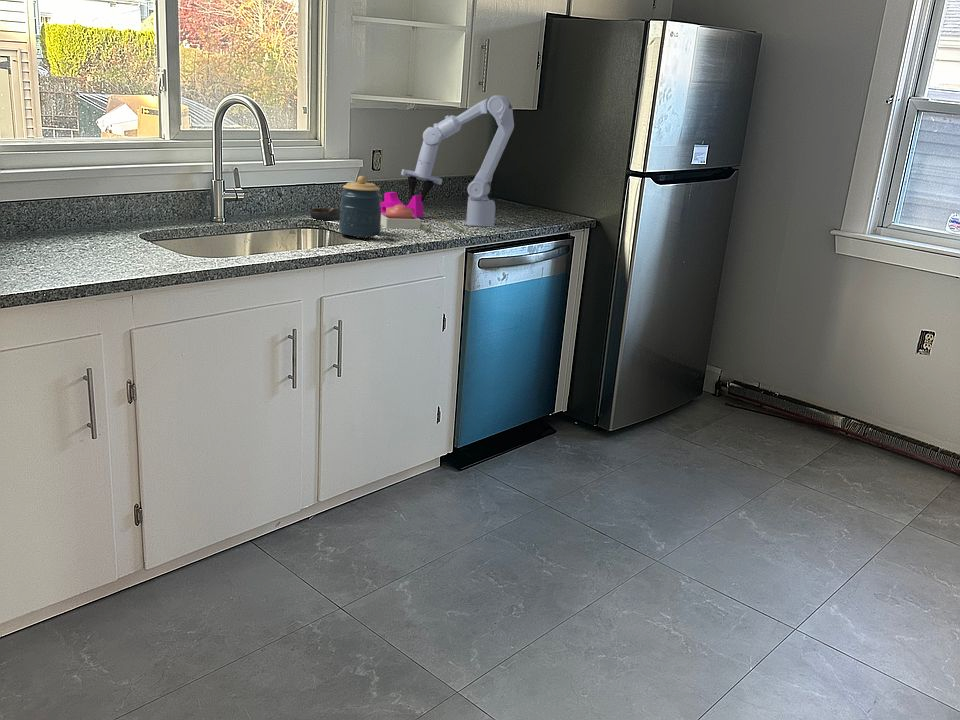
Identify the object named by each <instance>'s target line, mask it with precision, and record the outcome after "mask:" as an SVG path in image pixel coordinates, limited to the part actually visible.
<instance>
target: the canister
mask: <svg viewBox="0 0 960 720" xmlns="http://www.w3.org/2000/svg"><path fill="white" fill-rule="evenodd" d="M342 188H343V191H342V192H340V193H339V196H340V197H341V198H340V199H341V201H340V204H339V210H340V218H339V221H338V222H339V224H338V231H339V233H340V234H342V235H345V236H352V237H353V236H354V237H376V236H380V235H381V230H382V229H381V228H382V225H381V209H382V207H381V205H380V202H381V200H382V199H383V195H381V194H380V192H379V191H380V190H381V188H380V187H379V186H377V184H375V183H371V182H367V178H366V177H365V176H364V175H359V176H358V177H357V181H350V182H349V181H348V182H346V184H344V185H343V186H342Z"/></svg>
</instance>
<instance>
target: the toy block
mask: <svg viewBox="0 0 960 720" xmlns="http://www.w3.org/2000/svg"><path fill="white" fill-rule="evenodd" d="M422 196H423V195H421V194H419V193H418V194H413V196H412V199H409V202H408V204H407V205H405V204H403V203H402V202H401V200H400V198H399V196H398V192H397V191H388V192H384V195H383V197H384V201H380V205H381V207H382V209H381V214H386V208H388V207H394V206H395V205H399V204H400V205H404V206H405V207H406V208H409V209H413V216H415V217H417V218H422V217H424V201H423V202H422V201H421V200H422Z"/></svg>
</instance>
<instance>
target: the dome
mask: <svg viewBox="0 0 960 720" xmlns="http://www.w3.org/2000/svg"><path fill="white" fill-rule="evenodd" d="M404 205H405V204H404ZM404 205H400V204H399V205H395V206H394V207H388V208H386V217H387V218H390V219H413V209H409V208H406V207H405V206H406V205H405V206H404Z"/></svg>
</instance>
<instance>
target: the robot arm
mask: <svg viewBox="0 0 960 720" xmlns="http://www.w3.org/2000/svg"><path fill="white" fill-rule="evenodd" d="M513 110H514V108H513V105H512V103H511V101H510V100H509V98H508V97H506V96H504V95H500V94H499V95H497V94H496V95H495V94H494V95H492V96H491V97H490V98H486V99H484V100H481V101H479V102H477V103H476V104H474V105H473V106H471V107H470V108H468V109H466V110H464V111H463V112H462V113H459V115H454V114H451V115H446V116H444V119H443V120H441V121H439V122H435V123H434V124H433V125H432V126H428V127H427V128H426V129H425V130H424V131H423V133H422V139H423V141H422V145H421V147H420V150H419V154H418V157H417V158H418V159H417V162H416V166H415V170H409V169H404V168H402V169H401V173H400V175H401V176H403V177H407V182H408V198H409V200H411V199H412V196H413V195H415V190H416V187H417V184H418V180H421V181H423V184H422V189H421V190H422V191H421V193H420V195H423V196H422V200H421V201H422V202H423V203H424V200H425V199H426V197H427V196H428V194H429V192H430V191H431V190H432V189H433V188H434V187H435V184H437V185H442V182H443V179H442V178H441V177H437V176H434V175H432V172H433V168H434V165H435V162H436V158H437V154H438V150H439V146H440V144H441V143H442V142H443V140H446V139H447V138H449V137H451V136H452V135H455V134H457V133H458V132H459V131H461V128H462V125H464V124H465V123H468V122H469V121H471V120H474V119H475V118H477V117H479V116H481V115H484V114H490V115H491V116H492V117H493V118H494V120H495V121H496V125H497V126H498V127H497V129H496V133H495V134H494V136H493V138H492V141H491V143H490V145H489V147H488V150H487V152H486V154H485V157H484V159H483V162H482V163H481V166H480V167H479V170H478V172H477V173H476V174H475V177H474V179H473V180H472V181H471V182H470V183H468V185H467V188H466V189H467V193H468V196H467V207H466V209H467V210H466V218H465V219H466V220H464V221H463V220H462V224H465V225H467V226H468V227H495V226H496V225H495V219H496V202H495V200H493V199H490V198H489V197H488V196H489V194H490V192H491V184H492V183H491V182H492V181H493V176H494V173H495V171H496V169H497V166H498V164H499V162H500V160H501V158H502V156H503V153H504V152H505V149H506V146H507V144H508V141H509V139H510V138H511V135H512V133H513V131H514V128H515V121H514V113H513V112H514V111H513ZM417 179H418V180H417Z"/></svg>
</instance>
